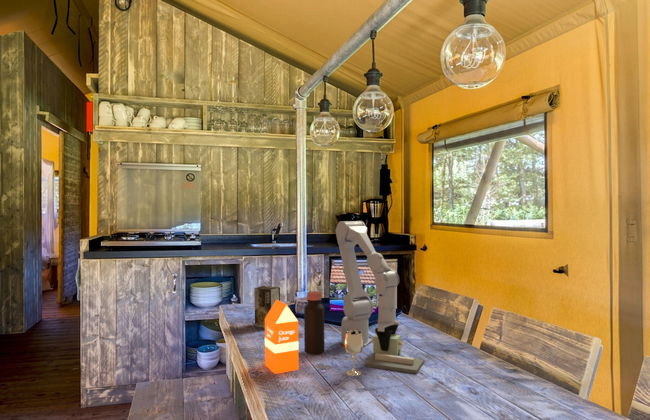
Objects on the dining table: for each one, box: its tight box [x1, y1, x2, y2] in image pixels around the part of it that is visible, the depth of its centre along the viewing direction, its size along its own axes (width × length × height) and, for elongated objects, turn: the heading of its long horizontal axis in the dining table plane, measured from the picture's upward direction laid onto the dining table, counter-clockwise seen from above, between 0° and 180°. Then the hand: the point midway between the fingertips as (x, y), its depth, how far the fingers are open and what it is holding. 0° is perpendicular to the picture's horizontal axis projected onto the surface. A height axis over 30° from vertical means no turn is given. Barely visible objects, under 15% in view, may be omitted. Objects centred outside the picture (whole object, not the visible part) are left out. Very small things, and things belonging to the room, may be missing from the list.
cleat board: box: [364, 353, 425, 374], centre depth 137 cm, size 16×10×2 cm, turn 66°
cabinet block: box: [372, 333, 403, 356], centre depth 147 cm, size 9×5×6 cm, turn 66°
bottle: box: [303, 290, 325, 356], centre depth 149 cm, size 7×7×20 cm
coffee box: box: [253, 285, 281, 329], centre depth 182 cm, size 9×6×16 cm
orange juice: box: [264, 299, 299, 375], centre depth 135 cm, size 8×9×20 cm
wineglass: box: [343, 330, 364, 377], centre depth 129 cm, size 6×6×12 cm
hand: (387, 347), depth 147 cm, fingers open, 5 cm apart
